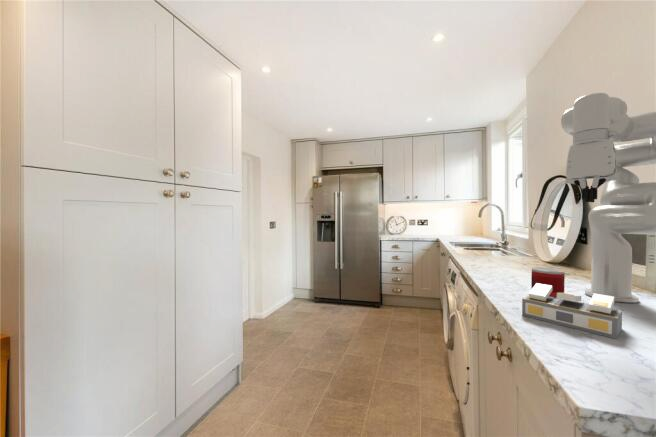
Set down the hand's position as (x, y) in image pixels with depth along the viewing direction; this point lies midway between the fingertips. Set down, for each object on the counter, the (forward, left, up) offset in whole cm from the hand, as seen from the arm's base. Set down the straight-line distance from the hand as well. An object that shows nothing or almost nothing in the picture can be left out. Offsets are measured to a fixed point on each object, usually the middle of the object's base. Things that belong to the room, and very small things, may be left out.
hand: (589, 202), depth 77 cm
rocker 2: (+15, -2, -25) cm, 30 cm away
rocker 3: (+15, +4, -25) cm, 30 cm away
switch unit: (+15, -2, -32) cm, 35 cm away
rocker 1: (+15, -8, -25) cm, 30 cm away
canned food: (+2, -9, -32) cm, 34 cm away
